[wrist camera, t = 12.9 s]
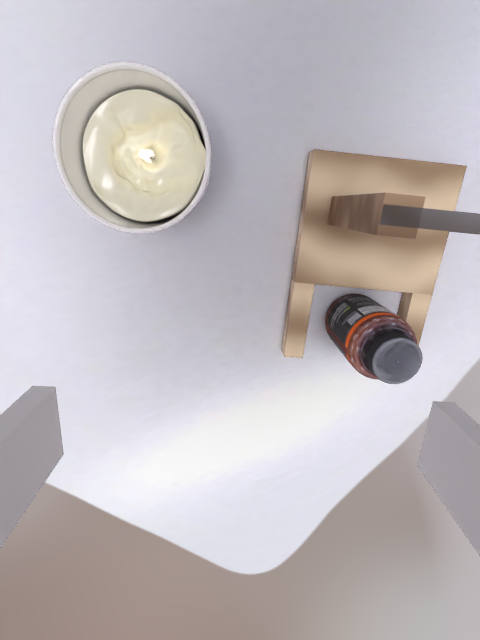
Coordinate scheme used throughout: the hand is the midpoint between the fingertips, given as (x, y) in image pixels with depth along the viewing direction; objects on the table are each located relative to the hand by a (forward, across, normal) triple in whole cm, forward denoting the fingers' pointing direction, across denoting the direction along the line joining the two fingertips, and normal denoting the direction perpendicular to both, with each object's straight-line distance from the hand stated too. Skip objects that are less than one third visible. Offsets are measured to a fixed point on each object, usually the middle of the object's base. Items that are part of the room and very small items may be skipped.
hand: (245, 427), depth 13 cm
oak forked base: (+26, +13, +2) cm, 29 cm away
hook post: (+24, +11, +7) cm, 27 cm away
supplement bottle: (+26, +13, -4) cm, 29 cm away
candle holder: (+26, -7, +10) cm, 29 cm away
